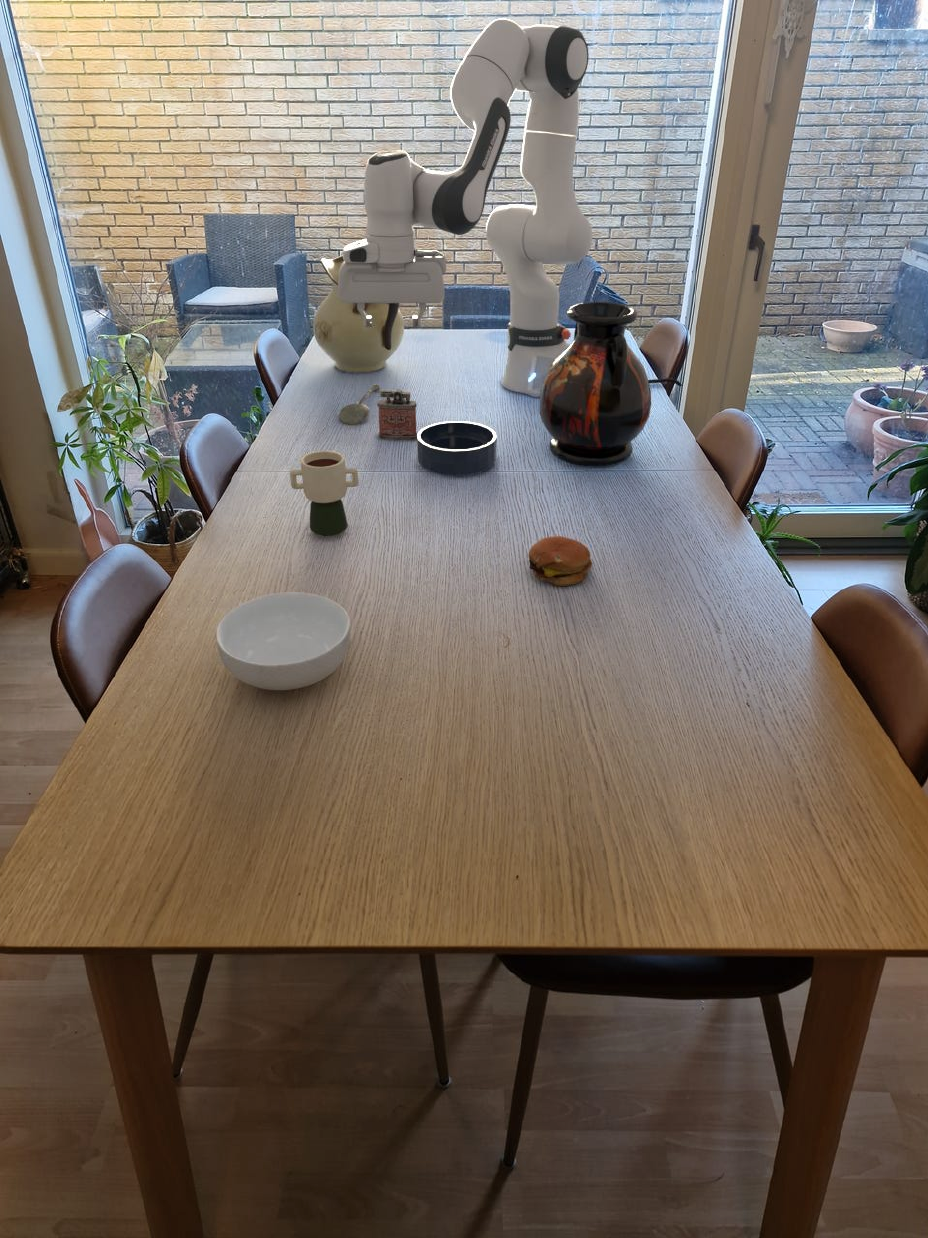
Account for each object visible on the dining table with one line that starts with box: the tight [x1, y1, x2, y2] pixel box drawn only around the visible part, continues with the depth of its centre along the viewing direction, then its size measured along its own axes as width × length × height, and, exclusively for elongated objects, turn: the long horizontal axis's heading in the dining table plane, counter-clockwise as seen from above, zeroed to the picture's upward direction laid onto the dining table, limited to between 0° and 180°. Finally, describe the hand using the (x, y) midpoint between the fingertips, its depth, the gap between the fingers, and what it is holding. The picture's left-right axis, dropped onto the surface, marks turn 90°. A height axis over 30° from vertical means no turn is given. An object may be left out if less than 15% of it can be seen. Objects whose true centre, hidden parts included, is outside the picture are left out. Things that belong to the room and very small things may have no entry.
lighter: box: [376, 388, 418, 442], centre depth 181 cm, size 8×3×10 cm, turn 84°
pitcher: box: [312, 255, 405, 374], centre depth 217 cm, size 22×24×25 cm
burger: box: [527, 535, 593, 587], centre depth 136 cm, size 10×9×5 cm
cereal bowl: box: [215, 591, 352, 691], centre depth 114 cm, size 17×17×7 cm
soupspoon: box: [338, 383, 381, 425], centre depth 198 cm, size 22×3×7 cm
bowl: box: [416, 420, 498, 476], centre depth 171 cm, size 15×15×6 cm
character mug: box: [289, 450, 359, 538], centre depth 145 cm, size 11×7×13 cm, turn 95°
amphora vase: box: [539, 301, 652, 468], centre depth 169 cm, size 22×22×28 cm
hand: (392, 326), depth 171 cm, fingers open, 8 cm apart
